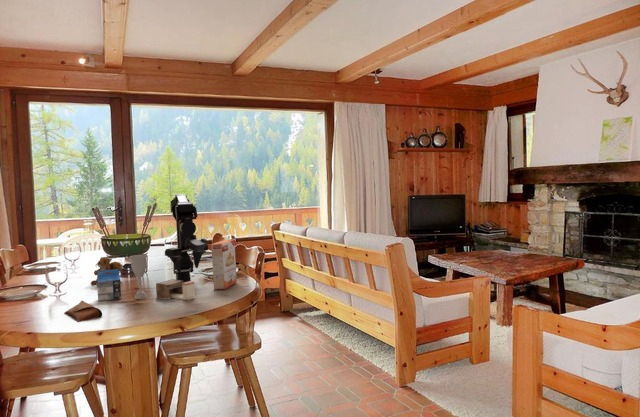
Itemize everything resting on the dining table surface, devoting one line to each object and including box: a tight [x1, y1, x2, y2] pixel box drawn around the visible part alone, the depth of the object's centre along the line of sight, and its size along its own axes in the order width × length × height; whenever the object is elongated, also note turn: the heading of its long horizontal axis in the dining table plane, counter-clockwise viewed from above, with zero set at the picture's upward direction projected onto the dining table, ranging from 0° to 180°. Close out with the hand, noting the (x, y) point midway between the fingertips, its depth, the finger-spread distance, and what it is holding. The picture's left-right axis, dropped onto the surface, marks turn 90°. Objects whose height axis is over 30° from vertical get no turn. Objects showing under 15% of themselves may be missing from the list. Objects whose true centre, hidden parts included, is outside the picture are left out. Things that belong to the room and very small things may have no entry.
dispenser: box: [155, 278, 184, 300], centre depth 195 cm, size 7×9×6 cm
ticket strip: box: [169, 280, 196, 301], centre depth 192 cm, size 15×4×7 cm, turn 57°
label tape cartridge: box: [96, 269, 122, 302], centre depth 192 cm, size 9×4×12 cm, turn 117°
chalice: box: [129, 254, 148, 300], centre depth 193 cm, size 7×7×18 cm
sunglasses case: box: [64, 300, 103, 323], centre depth 171 cm, size 18×7×7 cm, turn 47°
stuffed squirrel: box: [90, 256, 123, 286], centre depth 225 cm, size 10×14×13 cm
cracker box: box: [210, 239, 238, 290], centre depth 210 cm, size 14×6×21 cm, turn 168°
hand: (188, 270), depth 189 cm, fingers open, 9 cm apart
